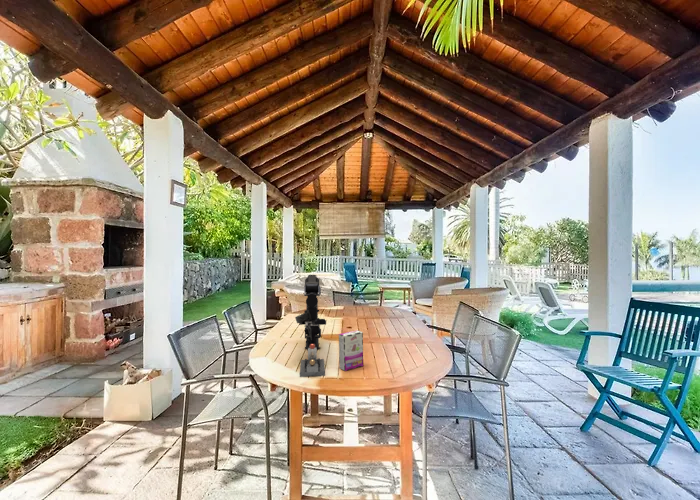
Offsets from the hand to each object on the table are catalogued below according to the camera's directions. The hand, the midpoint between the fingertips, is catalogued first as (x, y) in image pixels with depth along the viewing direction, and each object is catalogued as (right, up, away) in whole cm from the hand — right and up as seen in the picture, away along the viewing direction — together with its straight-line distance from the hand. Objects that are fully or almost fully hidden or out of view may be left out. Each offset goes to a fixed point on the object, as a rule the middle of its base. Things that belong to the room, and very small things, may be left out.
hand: (312, 339), depth 170 cm
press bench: (+1, -11, -12) cm, 16 cm away
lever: (+1, -8, -12) cm, 15 cm away
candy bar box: (+19, -11, -8) cm, 24 cm away
